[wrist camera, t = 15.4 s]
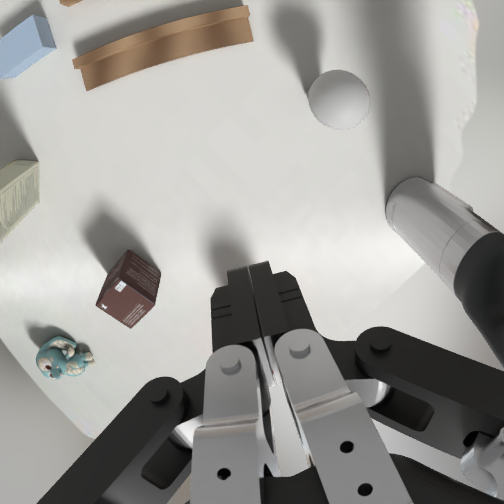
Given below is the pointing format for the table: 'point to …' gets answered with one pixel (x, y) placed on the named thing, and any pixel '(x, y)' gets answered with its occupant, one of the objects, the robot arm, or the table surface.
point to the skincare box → (17, 193)
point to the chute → (163, 44)
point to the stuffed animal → (62, 359)
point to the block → (25, 46)
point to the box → (129, 289)
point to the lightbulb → (339, 99)
